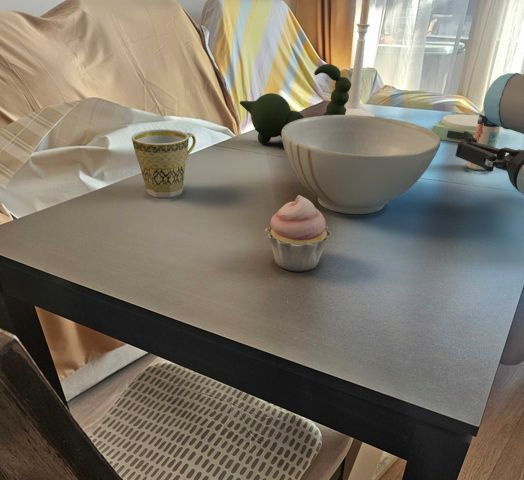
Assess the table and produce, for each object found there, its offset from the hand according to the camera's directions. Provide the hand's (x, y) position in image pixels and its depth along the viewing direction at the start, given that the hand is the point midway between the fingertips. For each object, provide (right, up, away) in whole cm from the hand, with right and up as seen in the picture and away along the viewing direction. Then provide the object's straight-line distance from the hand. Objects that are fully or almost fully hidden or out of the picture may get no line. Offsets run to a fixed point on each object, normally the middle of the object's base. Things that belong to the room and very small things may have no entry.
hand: (498, 139), depth 100 cm
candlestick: (-21, +27, +48) cm, 58 cm away
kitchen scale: (+7, +15, +33) cm, 37 cm away
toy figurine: (-40, +8, +22) cm, 46 cm away
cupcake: (-42, -29, -26) cm, 57 cm away
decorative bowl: (-30, -14, -6) cm, 34 cm away
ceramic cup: (-64, -11, -3) cm, 65 cm away
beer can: (+1, -2, +12) cm, 12 cm away
